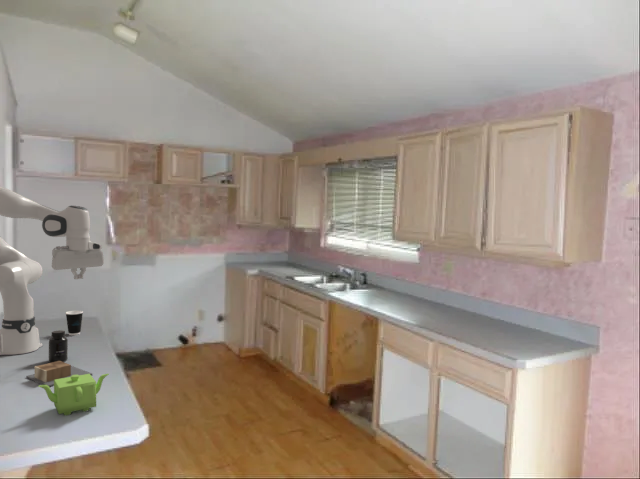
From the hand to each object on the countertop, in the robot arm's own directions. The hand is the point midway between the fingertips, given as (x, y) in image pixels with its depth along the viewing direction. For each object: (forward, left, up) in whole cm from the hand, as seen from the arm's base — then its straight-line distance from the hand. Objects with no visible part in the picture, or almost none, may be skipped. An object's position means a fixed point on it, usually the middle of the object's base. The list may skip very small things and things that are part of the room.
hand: (78, 279), depth 200 cm
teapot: (+49, -28, -33) cm, 66 cm away
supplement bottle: (-3, -7, -33) cm, 34 cm away
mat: (+16, -16, -33) cm, 40 cm away
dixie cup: (-39, +19, -33) cm, 55 cm away
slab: (+16, -14, -30) cm, 37 cm away
